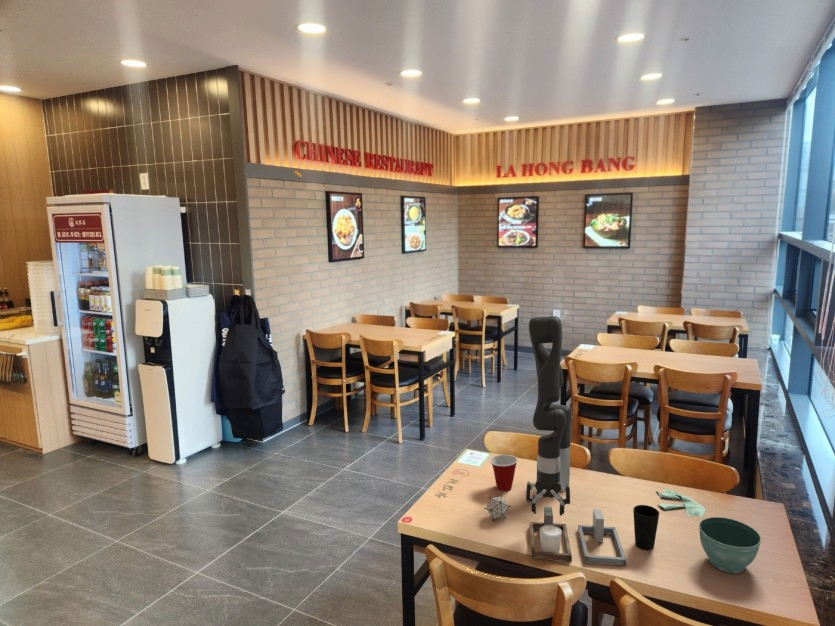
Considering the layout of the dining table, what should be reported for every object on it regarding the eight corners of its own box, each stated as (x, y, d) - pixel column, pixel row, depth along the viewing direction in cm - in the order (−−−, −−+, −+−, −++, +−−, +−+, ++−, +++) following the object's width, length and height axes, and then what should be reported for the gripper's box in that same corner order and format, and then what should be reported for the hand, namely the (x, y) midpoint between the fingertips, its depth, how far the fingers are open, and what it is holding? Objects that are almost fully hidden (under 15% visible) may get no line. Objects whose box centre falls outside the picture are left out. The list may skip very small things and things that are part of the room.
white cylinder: (563, 547, 175) (563, 526, 174) (559, 558, 169) (559, 538, 168) (541, 542, 178) (542, 522, 177) (537, 553, 172) (537, 533, 171)
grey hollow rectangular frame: (577, 530, 184) (578, 508, 183) (614, 532, 182) (615, 510, 181) (585, 562, 167) (585, 538, 165) (626, 565, 165) (627, 541, 163)
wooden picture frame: (529, 527, 187) (529, 505, 185) (565, 529, 185) (566, 507, 184) (531, 558, 169) (532, 534, 168) (571, 561, 167) (572, 537, 166)
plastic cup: (496, 478, 223) (496, 451, 221) (521, 485, 217) (521, 456, 215) (485, 490, 214) (485, 461, 212) (511, 496, 208) (511, 467, 206)
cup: (655, 555, 170) (657, 519, 168) (629, 548, 174) (631, 513, 172) (659, 542, 176) (661, 508, 174) (634, 536, 180) (635, 502, 178)
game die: (501, 529, 193) (510, 517, 186) (479, 519, 194) (486, 507, 187) (507, 507, 199) (515, 495, 192) (485, 498, 200) (493, 485, 193)
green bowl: (771, 579, 157) (774, 545, 156) (717, 583, 156) (720, 548, 154) (735, 547, 173) (737, 515, 171) (686, 550, 172) (688, 518, 170)
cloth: (711, 523, 189) (711, 516, 188) (642, 513, 196) (643, 506, 195) (701, 495, 208) (702, 489, 207) (639, 487, 215) (640, 481, 214)
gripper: (569, 464, 182) (568, 509, 184) (526, 461, 184) (525, 506, 186) (572, 473, 174) (570, 521, 177) (526, 471, 177) (526, 517, 179)
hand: (547, 513), depth 182 cm, fingers open, 8 cm apart
